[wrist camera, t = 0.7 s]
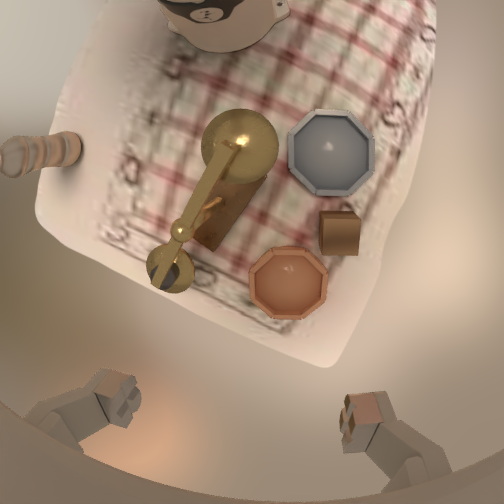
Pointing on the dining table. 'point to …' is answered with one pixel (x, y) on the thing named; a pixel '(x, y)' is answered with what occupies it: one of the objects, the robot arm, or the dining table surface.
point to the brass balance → (216, 192)
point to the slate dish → (331, 152)
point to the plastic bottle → (38, 153)
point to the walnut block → (339, 233)
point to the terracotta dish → (288, 283)
